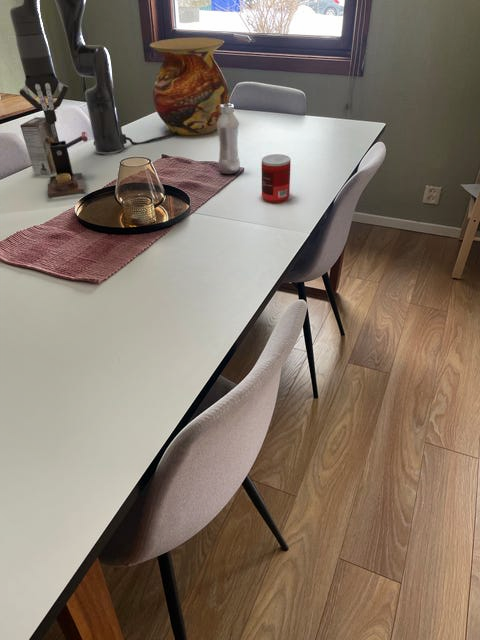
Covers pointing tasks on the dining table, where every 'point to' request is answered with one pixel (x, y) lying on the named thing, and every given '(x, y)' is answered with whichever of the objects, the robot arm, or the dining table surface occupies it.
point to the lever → (77, 140)
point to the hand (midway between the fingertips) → (52, 123)
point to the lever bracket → (62, 160)
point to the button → (63, 178)
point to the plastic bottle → (228, 140)
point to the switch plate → (65, 188)
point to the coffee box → (40, 144)
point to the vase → (189, 85)
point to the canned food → (275, 178)
